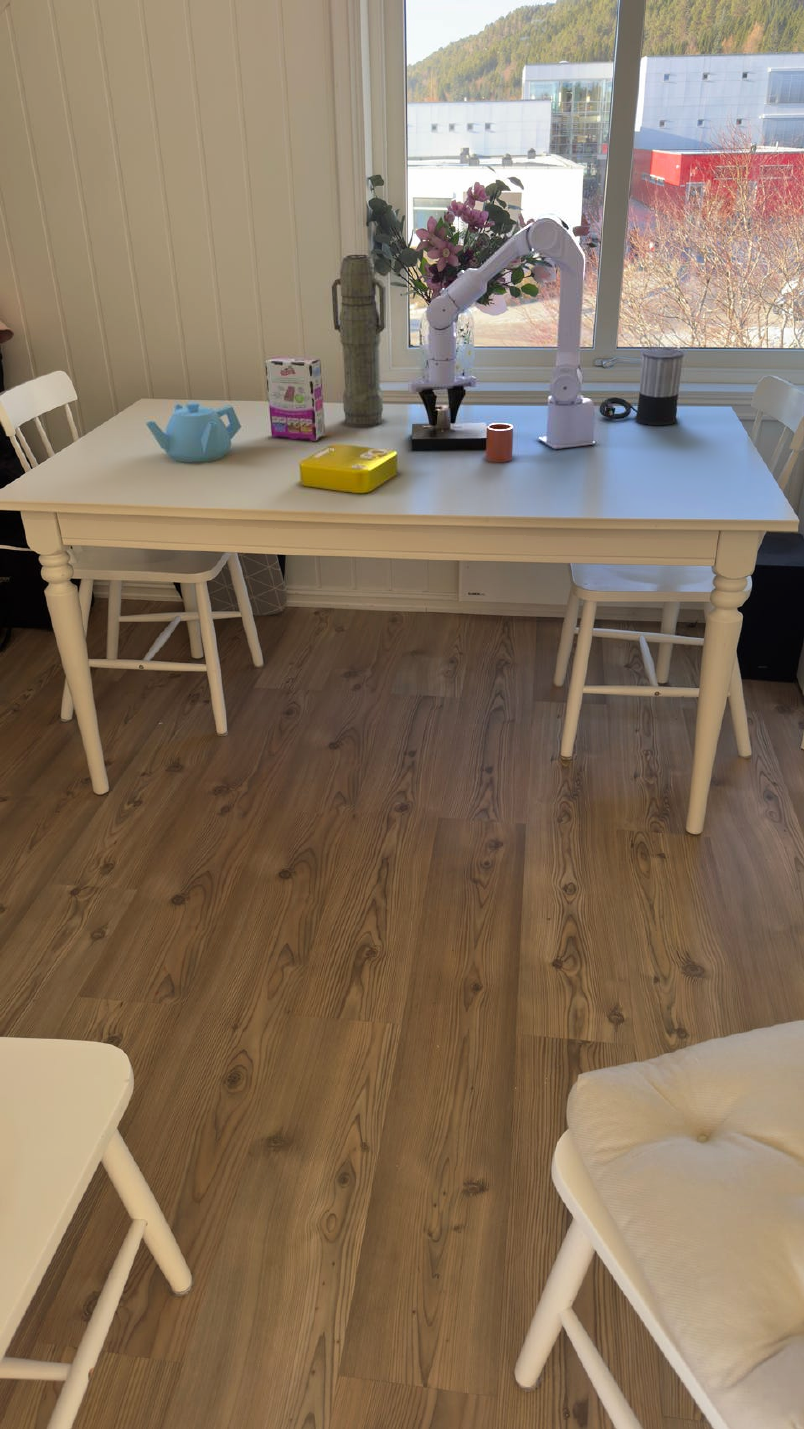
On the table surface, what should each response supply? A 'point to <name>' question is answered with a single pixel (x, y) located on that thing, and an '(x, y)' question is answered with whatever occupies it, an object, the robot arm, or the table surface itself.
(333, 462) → the element tile
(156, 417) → the table surface
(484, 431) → the warming plate
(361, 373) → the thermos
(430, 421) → the robot arm
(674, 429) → the table surface
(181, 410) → the teapot
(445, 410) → the dial
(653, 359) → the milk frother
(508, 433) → the orange stave barrel
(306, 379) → the candy bar box
